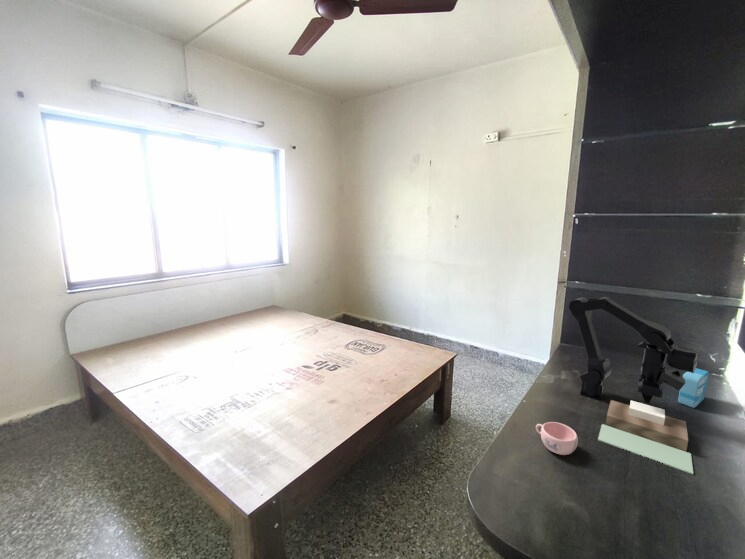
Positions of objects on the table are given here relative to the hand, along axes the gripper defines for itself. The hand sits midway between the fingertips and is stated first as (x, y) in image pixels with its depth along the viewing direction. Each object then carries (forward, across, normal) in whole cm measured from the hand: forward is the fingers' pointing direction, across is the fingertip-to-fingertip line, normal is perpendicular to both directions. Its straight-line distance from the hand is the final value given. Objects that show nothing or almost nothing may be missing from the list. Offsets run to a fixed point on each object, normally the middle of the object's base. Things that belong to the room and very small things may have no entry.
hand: (646, 402), depth 116 cm
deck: (+5, -10, 0) cm, 11 cm away
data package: (+5, +22, -13) cm, 26 cm away
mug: (+5, -38, +21) cm, 44 cm away
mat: (+5, -22, 0) cm, 22 cm away
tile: (+1, -8, 0) cm, 8 cm away
